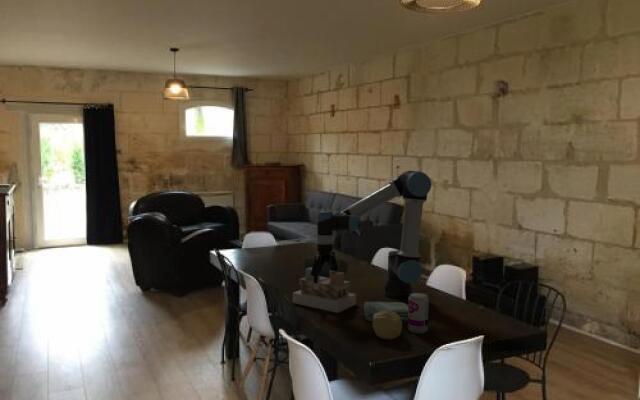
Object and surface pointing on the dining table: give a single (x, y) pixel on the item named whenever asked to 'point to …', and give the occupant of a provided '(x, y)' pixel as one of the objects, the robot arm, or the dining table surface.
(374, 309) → the towel
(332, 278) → the block
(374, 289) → the dining table surface
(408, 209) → the robot arm
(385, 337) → the tan round ball
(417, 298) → the supplement can
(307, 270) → the grey cube
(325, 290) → the board
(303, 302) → the dock
